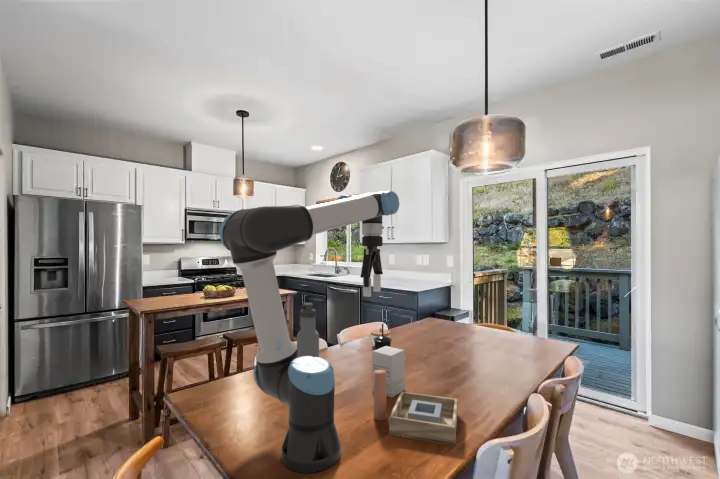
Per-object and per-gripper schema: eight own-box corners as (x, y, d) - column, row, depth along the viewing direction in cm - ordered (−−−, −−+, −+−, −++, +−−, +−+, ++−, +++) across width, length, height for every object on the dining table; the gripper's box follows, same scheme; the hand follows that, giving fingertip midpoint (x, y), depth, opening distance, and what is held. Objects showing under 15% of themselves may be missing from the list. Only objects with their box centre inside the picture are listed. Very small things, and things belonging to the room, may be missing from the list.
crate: (455, 446, 92) (454, 427, 92) (389, 434, 98) (389, 417, 98) (457, 414, 109) (457, 398, 109) (401, 406, 115) (401, 391, 115)
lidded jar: (367, 344, 187) (367, 327, 188) (386, 342, 191) (386, 325, 191) (374, 350, 177) (374, 331, 177) (393, 348, 180) (393, 330, 181)
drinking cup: (370, 372, 146) (370, 324, 146) (378, 366, 153) (378, 321, 153) (387, 375, 142) (387, 326, 143) (394, 369, 149) (394, 323, 150)
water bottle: (294, 364, 156) (295, 302, 157) (315, 361, 159) (316, 301, 160) (299, 371, 146) (299, 305, 147) (321, 368, 150) (321, 304, 150)
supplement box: (385, 383, 134) (385, 345, 134) (405, 390, 128) (405, 349, 128) (371, 391, 127) (371, 350, 127) (391, 398, 121) (391, 355, 121)
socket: (439, 431, 98) (439, 417, 98) (407, 426, 100) (407, 412, 101) (441, 416, 106) (441, 403, 106) (412, 412, 109) (412, 399, 109)
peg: (384, 421, 105) (384, 375, 105) (372, 419, 106) (372, 373, 107) (387, 415, 109) (387, 370, 109) (375, 413, 110) (375, 369, 110)
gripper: (373, 234, 113) (373, 299, 112) (389, 236, 137) (389, 290, 136) (351, 234, 115) (351, 298, 115) (371, 236, 139) (371, 289, 138)
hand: (372, 294), depth 125 cm, fingers open, 13 cm apart
